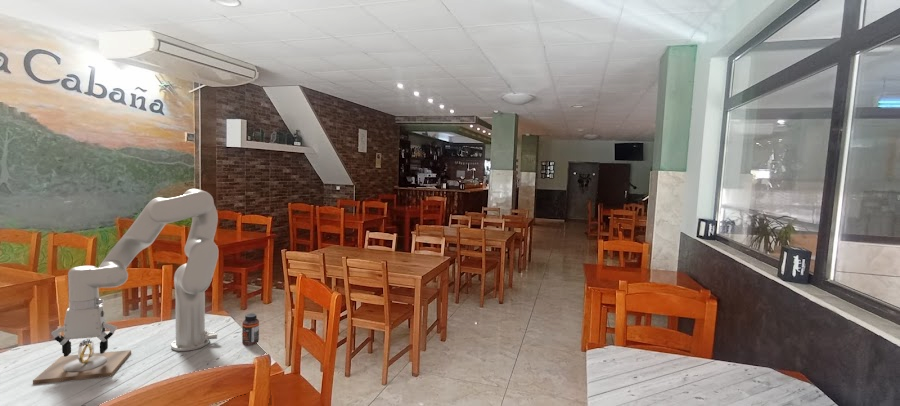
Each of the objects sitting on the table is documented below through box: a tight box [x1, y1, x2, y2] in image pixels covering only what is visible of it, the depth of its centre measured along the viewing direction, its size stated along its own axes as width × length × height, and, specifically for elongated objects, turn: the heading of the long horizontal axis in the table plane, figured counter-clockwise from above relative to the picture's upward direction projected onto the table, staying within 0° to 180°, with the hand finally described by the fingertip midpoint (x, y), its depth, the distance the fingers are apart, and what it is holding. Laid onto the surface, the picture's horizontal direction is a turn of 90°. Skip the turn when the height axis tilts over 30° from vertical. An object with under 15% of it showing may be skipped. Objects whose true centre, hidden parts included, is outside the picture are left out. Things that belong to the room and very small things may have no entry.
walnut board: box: [32, 349, 132, 385], centre depth 141 cm, size 20×17×2 cm
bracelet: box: [77, 338, 95, 364], centre depth 140 cm, size 7×3×8 cm, turn 10°
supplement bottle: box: [241, 312, 260, 346], centre depth 165 cm, size 6×6×11 cm
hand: (85, 353), depth 140 cm, fingers open, 9 cm apart
